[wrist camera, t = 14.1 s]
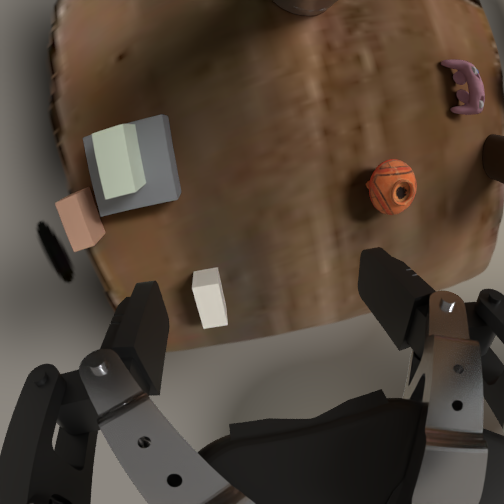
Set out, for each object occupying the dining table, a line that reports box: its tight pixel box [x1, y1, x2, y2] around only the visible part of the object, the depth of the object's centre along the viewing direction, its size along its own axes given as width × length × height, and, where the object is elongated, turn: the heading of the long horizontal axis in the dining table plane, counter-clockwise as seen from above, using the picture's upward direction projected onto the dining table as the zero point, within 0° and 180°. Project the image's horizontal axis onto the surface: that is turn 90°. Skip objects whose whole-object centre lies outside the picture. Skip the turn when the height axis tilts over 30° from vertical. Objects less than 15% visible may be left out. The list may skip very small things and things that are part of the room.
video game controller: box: [441, 60, 485, 115], centre depth 29 cm, size 10×5×7 cm, turn 15°
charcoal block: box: [83, 114, 181, 217], centre depth 30 cm, size 10×10×4 cm
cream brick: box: [192, 268, 228, 329], centre depth 39 cm, size 7×4×4 cm, turn 7°
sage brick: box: [92, 124, 146, 200], centre depth 26 cm, size 7×4×4 cm, turn 7°
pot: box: [366, 159, 417, 215], centre depth 35 cm, size 8×8×7 cm
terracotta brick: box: [56, 187, 105, 252], centre depth 32 cm, size 7×4×4 cm, turn 12°
